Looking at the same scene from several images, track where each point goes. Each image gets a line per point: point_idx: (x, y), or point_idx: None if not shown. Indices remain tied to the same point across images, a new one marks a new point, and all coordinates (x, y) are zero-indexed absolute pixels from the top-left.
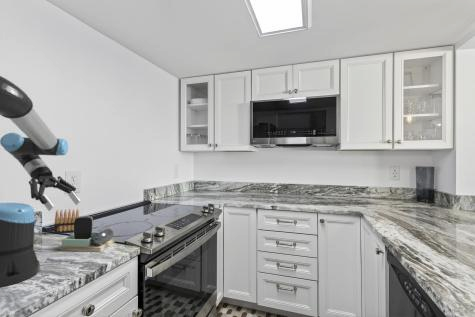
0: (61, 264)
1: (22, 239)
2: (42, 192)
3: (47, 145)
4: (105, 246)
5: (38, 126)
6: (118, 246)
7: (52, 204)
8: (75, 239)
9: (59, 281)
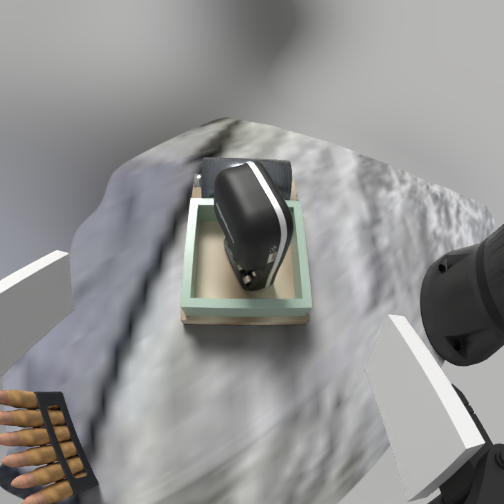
0: (392, 239)
1: None
2: (491, 496)
3: None
4: None
5: None
6: None
7: (400, 329)
8: (303, 249)
9: (438, 197)
